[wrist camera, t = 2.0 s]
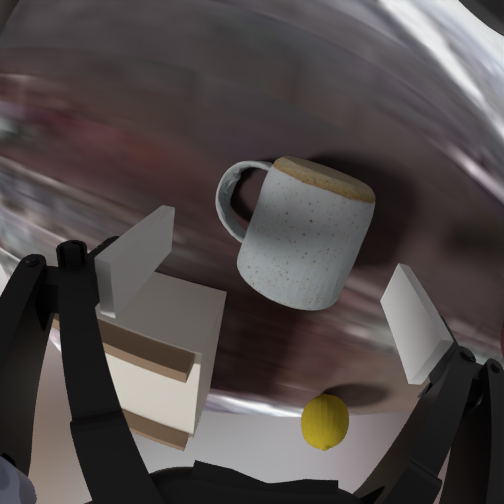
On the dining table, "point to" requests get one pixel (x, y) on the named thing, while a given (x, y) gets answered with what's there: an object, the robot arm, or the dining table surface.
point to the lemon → (325, 421)
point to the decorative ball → (502, 340)
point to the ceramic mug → (299, 230)
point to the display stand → (163, 355)
